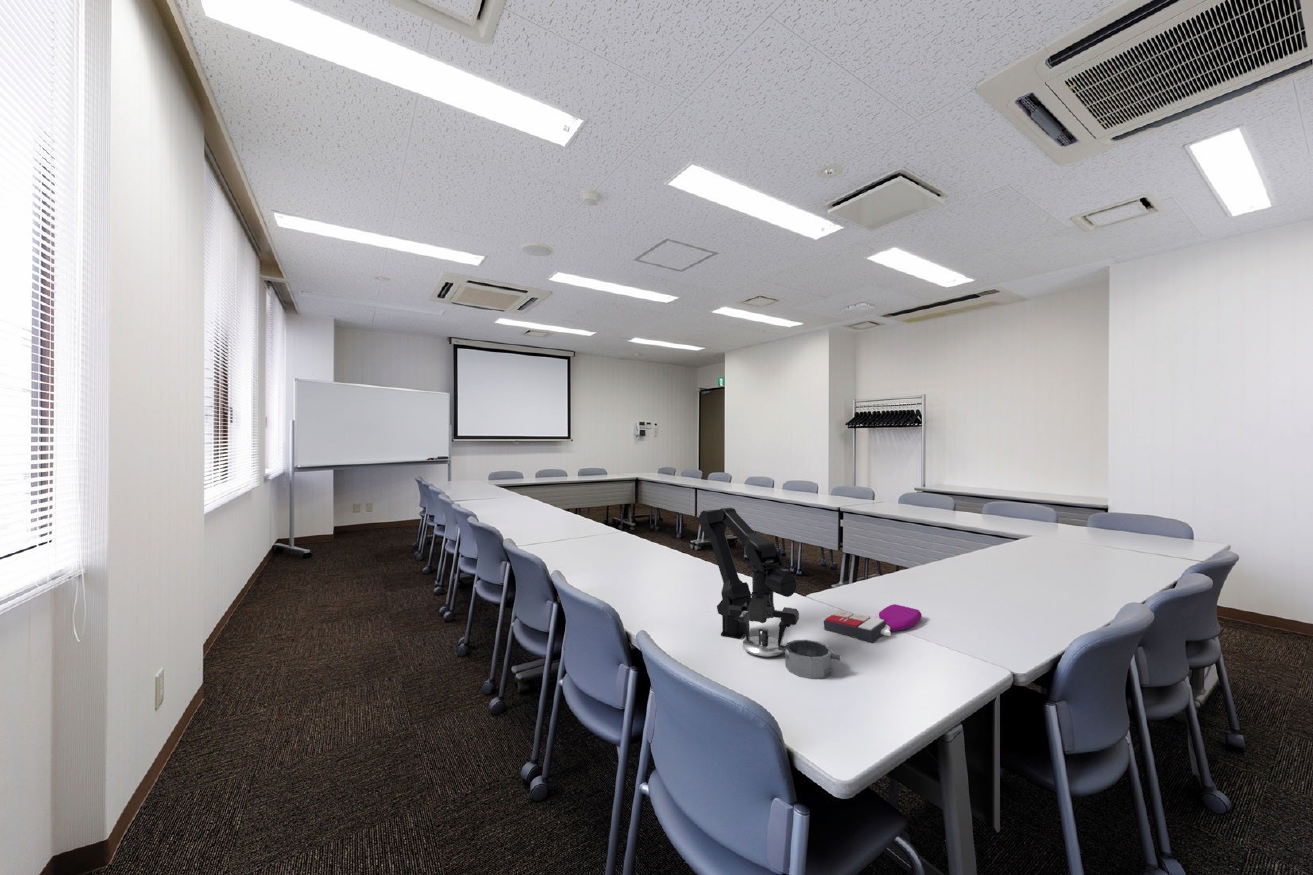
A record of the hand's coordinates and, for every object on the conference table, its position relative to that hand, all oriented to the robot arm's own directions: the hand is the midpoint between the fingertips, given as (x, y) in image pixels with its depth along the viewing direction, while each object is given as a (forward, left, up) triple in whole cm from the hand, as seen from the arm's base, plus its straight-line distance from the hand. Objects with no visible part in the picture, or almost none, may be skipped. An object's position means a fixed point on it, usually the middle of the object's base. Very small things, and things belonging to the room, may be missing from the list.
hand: (763, 642), depth 135 cm
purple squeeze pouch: (+33, +35, -2) cm, 48 cm away
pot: (+13, -6, -2) cm, 14 cm away
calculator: (+22, +25, -2) cm, 34 cm away
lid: (0, 0, -2) cm, 2 cm away
